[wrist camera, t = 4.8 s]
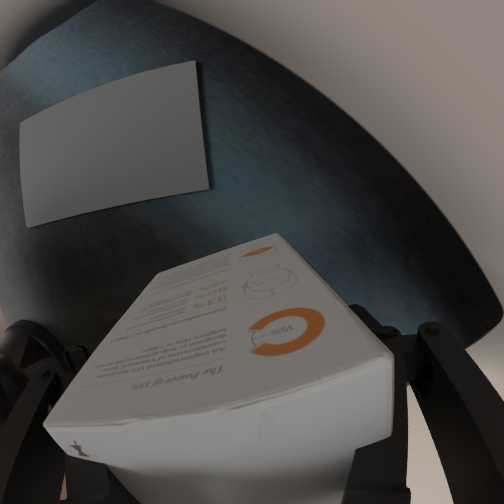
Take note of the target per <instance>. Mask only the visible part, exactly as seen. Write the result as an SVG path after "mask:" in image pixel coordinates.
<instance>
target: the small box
mask: <svg viewBox="0 0 504 504" xmlns="http://www.w3.org/2000/svg"><path fill="white" fill-rule="evenodd" d="M393 413H394V355H393V353H392V352H391V351H390V350H389V349H388V348H387V347H386V346H385V345H384V344H383V343H382V342H381V341H380V340H379V339H378V338H377V337H376V336H375V335H374V334H373V333H372V331H371V330H370V329H369V328H368V327H367V326H366V325H365V324H364V323H363V322H362V321H361V319H360V318H359V317H358V316H357V315H356V314H355V313H354V312H353V311H352V310H351V309H350V308H349V307H348V306H347V305H346V304H345V303H344V302H343V300H342V299H341V298H340V297H339V296H338V295H337V294H336V293H335V292H334V291H333V290H332V289H331V287H330V286H329V285H328V284H327V283H326V282H325V281H324V280H323V279H322V278H321V277H320V276H319V275H318V274H317V273H316V272H315V271H314V270H313V268H311V267H310V266H309V265H308V264H307V262H306V261H305V260H304V259H303V258H302V257H301V256H300V255H299V254H298V253H297V252H296V251H295V250H294V249H293V248H292V247H291V246H290V245H289V244H288V243H287V242H286V241H285V240H284V239H283V238H282V237H281V236H280V235H279V234H278V233H275V234H272V235H269V236H266V237H262V238H259V239H256V240H253V241H250V242H247V243H244V244H241V245H238V246H235V247H232V248H229V249H226V250H223V251H220V252H217V253H215V254H212V255H209V256H206V257H203V258H200V259H197V260H194V261H192V262H189V263H186V264H183V265H180V266H177V267H174V268H172V269H169V270H166V271H164V272H161V273H158V274H157V275H156V276H155V277H154V278H153V280H152V281H151V282H150V283H149V284H148V285H147V287H146V288H145V289H144V290H143V292H142V293H141V294H140V295H139V297H138V298H137V299H136V300H135V302H134V303H133V304H132V305H131V306H130V308H129V309H128V310H127V311H126V312H125V314H124V315H123V316H122V317H121V319H120V320H119V321H118V322H117V323H116V324H115V326H114V327H113V328H112V329H111V331H110V332H109V333H108V334H107V336H106V337H105V338H104V339H103V341H102V342H101V343H100V345H99V346H98V347H97V348H96V350H95V351H94V352H93V354H92V355H91V356H90V358H89V359H88V360H87V362H86V363H85V364H84V366H83V367H82V368H81V370H80V371H79V372H78V374H77V375H76V376H75V378H74V379H73V381H72V382H71V383H70V385H69V386H68V388H67V389H66V390H65V392H64V393H63V395H62V396H61V398H60V399H59V400H58V402H57V403H56V405H55V406H54V408H53V409H52V411H51V412H50V414H49V415H48V417H47V418H46V420H45V421H44V423H43V426H44V427H45V429H46V430H47V431H48V433H49V434H50V435H51V436H52V438H53V439H54V440H55V441H56V442H57V444H58V445H59V446H60V447H61V448H62V449H63V450H64V451H65V452H66V454H68V455H70V456H74V457H78V458H82V459H87V460H91V461H95V462H100V463H105V464H106V466H107V467H108V468H109V469H110V471H111V472H112V473H113V474H114V475H115V477H116V478H117V479H118V480H119V481H120V482H121V484H122V485H123V486H124V487H125V488H126V489H127V490H128V491H129V492H130V493H131V494H132V495H133V496H134V497H135V498H136V499H137V500H138V501H139V502H140V503H141V504H341V501H342V497H343V493H344V490H345V487H346V483H347V480H348V476H349V473H350V469H351V465H352V462H353V458H354V454H355V449H357V448H360V447H363V446H366V445H369V444H372V443H375V442H377V441H380V440H383V439H385V438H387V437H389V436H391V433H392V430H393Z"/></svg>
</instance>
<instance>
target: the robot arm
mask: <svg viewBox="0 0 504 504" xmlns="http://www.w3.org/2000/svg"><path fill="white" fill-rule="evenodd" d="M348 307H349V308H350V309H351V310H352V311H353V312H354V313H355V314H356V315H357V316H358V317H359V318H360V319H361V321H362V322H363V323H364V324H365V325H366V326H367V327H368V328H369V329H370V330H371V331H372V333H373V334H374V335H375V336H376V337H377V338H378V339H379V340H380V341H381V342H382V343H383V344H384V345H385V346H386V347H387V348H388V349H389V350H390V351H391V352H392V353H393V355H394V413H393V430H392V433H391V436H389V437H387V438H385V439H383V440H380V441H377V442H375V443H372V444H369V445H366V446H363V447H360V448H357V449H355V454H354V458H353V462H352V465H351V469H350V473H349V476H348V480H347V483H346V487H345V490H344V493H343V497H342V501H341V504H410V502H411V492H410V488H408V487H407V486H406V474H407V457H408V408H407V390H406V389H407V388H406V382H409V383H410V385H411V388H412V390H413V392H414V394H415V397H416V399H417V401H418V404H419V406H420V408H421V411H422V413H423V416H424V418H425V420H426V423H427V425H428V428H429V431H430V433H431V436H432V439H433V441H434V444H435V447H436V449H437V452H438V455H439V457H440V461H441V464H442V466H443V470H444V472H445V476H446V479H447V482H448V485H449V489H450V492H451V495H452V499H453V503H454V504H504V401H503V400H502V399H501V397H500V395H499V394H498V393H497V391H496V390H495V388H494V387H493V386H492V384H491V383H490V381H489V380H488V379H487V377H486V376H485V375H484V373H483V372H482V371H481V370H480V368H479V367H478V366H477V364H476V363H475V362H474V360H473V359H472V358H471V357H470V355H469V354H468V353H467V352H466V350H465V349H464V348H463V347H462V346H461V344H460V343H459V342H458V341H457V340H456V338H455V337H454V336H453V335H452V334H451V332H450V331H449V330H448V329H447V328H446V327H445V326H444V325H443V324H440V323H438V322H426V323H423V324H421V325H420V326H419V328H418V332H417V334H412V335H401V333H400V331H399V330H398V329H396V328H394V327H391V326H382V325H381V324H380V323H379V322H378V321H377V320H376V319H375V318H374V317H372V315H371V314H370V313H368V311H367V310H366V309H365V308H364V307H361V306H359V305H357V304H354V305H349V306H348ZM91 355H92V354H91V352H90V349H89V347H88V345H86V344H76V345H73V346H70V347H68V348H67V349H66V350H64V349H63V348H62V347H61V345H60V344H59V343H58V342H57V341H56V340H55V339H54V338H53V337H52V336H51V335H50V334H49V333H48V332H47V331H45V330H44V329H43V328H41V327H40V326H38V325H36V324H34V323H32V322H30V321H25V320H20V321H17V322H15V323H14V324H12V325H11V326H10V327H8V328H7V329H6V330H5V332H4V333H3V335H2V337H1V339H0V504H141V503H140V502H139V501H138V500H137V499H136V498H135V497H134V496H133V495H132V494H131V493H130V492H129V491H128V490H127V489H126V488H125V487H124V486H123V485H122V484H121V482H120V481H119V480H118V479H117V478H116V477H115V475H114V474H113V473H112V472H111V471H110V469H109V468H108V467H107V466H106V464H105V463H100V462H95V461H91V460H87V459H82V458H78V457H74V456H70V455H68V454H66V452H65V451H64V450H63V449H62V448H61V447H60V446H59V445H58V444H57V442H56V441H55V440H54V439H53V438H52V436H51V435H50V434H49V433H48V431H47V430H46V429H45V427H44V426H43V423H44V421H45V420H46V418H47V417H48V415H49V414H50V412H51V411H52V409H53V408H54V406H55V405H56V403H57V402H58V400H59V399H60V398H61V396H62V395H63V393H64V392H65V390H66V389H67V388H68V386H69V385H70V383H71V382H72V381H73V379H74V378H75V376H76V375H77V374H78V372H79V371H80V370H81V368H82V367H83V366H84V364H85V363H86V362H87V360H88V359H89V358H90V356H91ZM64 475H65V477H66V490H67V499H66V500H60V495H61V490H62V485H63V479H64Z"/></svg>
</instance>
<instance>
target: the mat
mask: <svg viewBox="0 0 504 504" xmlns="http://www.w3.org/2000/svg"><path fill="white" fill-rule="evenodd" d="M20 171H21V185H22V196H23V205H24V212H25V219H26V226H27V228H31V227H34V226H38V225H41V224H45V223H48V222H52V221H56V220H60V219H64V218H67V217H71V216H75V215H80V214H84V213H88V212H92V211H96V210H101V209H105V208H110V207H114V206H119V205H124V204H129V203H134V202H139V201H144V200H149V199H154V198H160V197H165V196H171V195H177V194H183V193H189V192H195V191H202V190H208V189H210V187H209V179H208V171H207V163H206V155H205V146H204V138H203V129H202V120H201V110H200V100H199V90H198V80H197V69H196V61H190V62H184V63H180V64H175V65H170V66H166V67H162V68H157V69H154V70H150V71H146V72H142V73H139V74H135V75H132V76H128V77H125V78H122V79H119V80H116V81H113V82H110V83H107V84H104V85H101V86H99V87H96V88H93V89H91V90H88V91H86V92H83V93H81V94H78V95H76V96H74V97H71V98H69V99H67V100H64V101H62V102H60V103H58V104H56V105H54V106H52V107H49V108H47V109H45V110H43V111H41V112H40V113H38V114H36V115H34V116H32V117H30V118H28V119H26V120H25V121H23V122H21V123H20Z"/></svg>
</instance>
